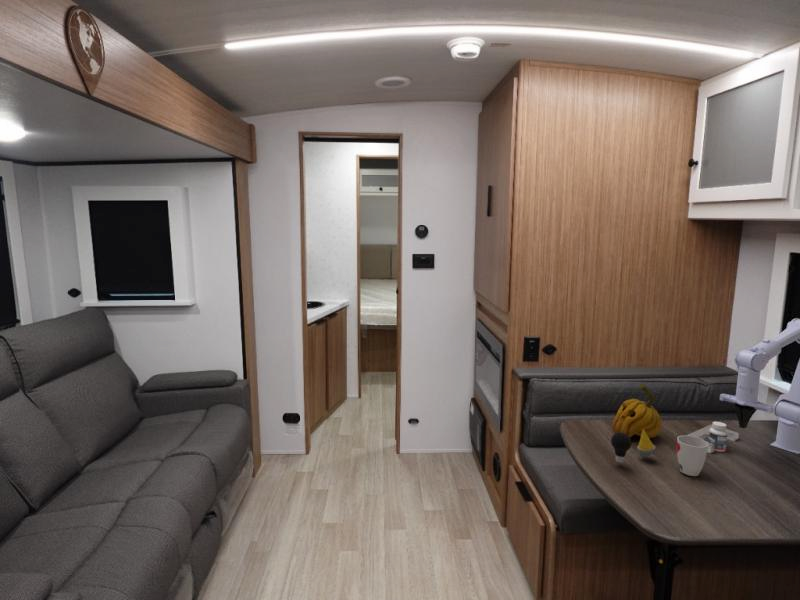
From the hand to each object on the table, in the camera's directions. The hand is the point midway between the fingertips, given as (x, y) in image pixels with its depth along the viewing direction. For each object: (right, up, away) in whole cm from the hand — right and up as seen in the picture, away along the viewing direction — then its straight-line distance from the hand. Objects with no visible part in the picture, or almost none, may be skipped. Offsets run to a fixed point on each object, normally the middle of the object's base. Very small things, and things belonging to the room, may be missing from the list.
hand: (743, 427), depth 156 cm
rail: (-3, -8, +12) cm, 15 cm away
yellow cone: (-32, -10, -1) cm, 33 cm away
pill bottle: (-4, -9, +6) cm, 12 cm away
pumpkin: (-33, -8, +15) cm, 37 cm away
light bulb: (-42, -11, -4) cm, 44 cm away
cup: (-23, -11, -10) cm, 28 cm away
